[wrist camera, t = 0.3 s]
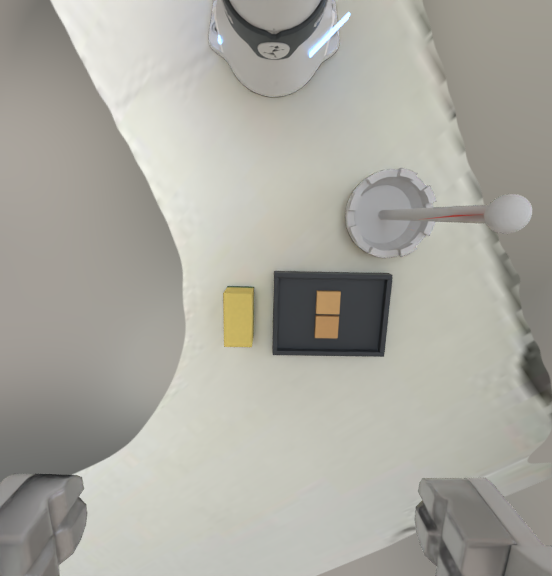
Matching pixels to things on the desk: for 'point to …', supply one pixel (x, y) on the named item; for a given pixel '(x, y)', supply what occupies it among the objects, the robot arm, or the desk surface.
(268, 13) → the robot arm
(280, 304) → the tray
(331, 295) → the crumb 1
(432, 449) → the desk surface
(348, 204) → the flag stand
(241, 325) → the sponge
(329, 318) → the crumb
